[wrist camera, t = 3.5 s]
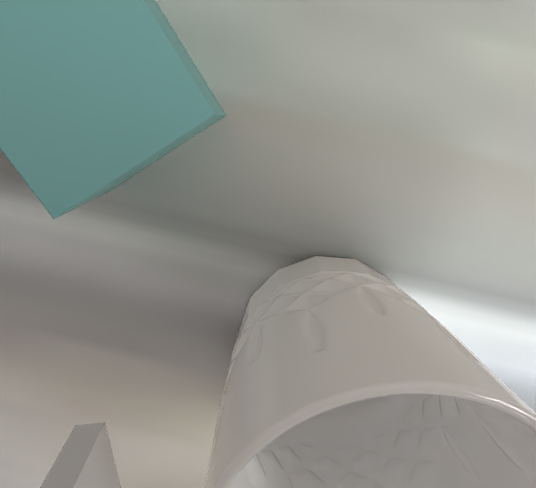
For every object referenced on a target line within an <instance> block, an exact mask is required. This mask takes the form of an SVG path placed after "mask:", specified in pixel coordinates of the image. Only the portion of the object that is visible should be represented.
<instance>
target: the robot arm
mask: <svg viewBox="0 0 536 488" xmlns="http://www.w3.org/2000/svg"><path fill="white" fill-rule="evenodd" d="M40 488H121V486H120V482H119V478H118V473H117V469H116V465H115V461H114V457H113V453H112V449H111V445H110V441H109V437H108V433H107V429H106V425H105V422H102V423H94V424H85V425H77V426H75V427H74V429H73V431H72V432H71V434H70V436H69V438H68V439H67V441H66V443H65V445H64V447H63V448H62V450H61V452H60V454H59V455H58V457H57V459H56V461H55V462H54V464H53V466H52V468H51V469H50V471H49V473H48V475H47V476H46V478H45V480H44V482H43V483H42V485H41V487H40Z"/></svg>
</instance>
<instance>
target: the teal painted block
mask: <svg viewBox="0 0 536 488" xmlns="http://www.w3.org/2000/svg"><path fill="white" fill-rule="evenodd" d="M224 116H226V114H225V113H224V111H223V109H222V108H221V106H220V105H219V103H218V101H217V100H216V98H215V96H214V95H213V93H212V92H211V90H210V88H209V87H208V85H207V84H206V82H205V80H204V79H203V77H202V75H201V74H200V72H199V71H198V69H197V67H196V66H195V64H194V63H193V61H192V59H191V58H190V56H189V54H188V53H187V51H186V50H185V48H184V46H183V45H182V43H181V42H180V40H179V38H178V37H177V35H176V33H175V32H174V30H173V29H172V27H171V25H170V24H169V22H168V21H167V19H166V17H165V16H164V14H163V12H162V11H161V9H160V8H159V6H158V4H157V3H156V1H155V0H0V149H1V150H2V151H3V153H4V154H5V155H6V157H7V158H8V159H9V161H10V162H11V163H12V165H13V166H14V167H15V168H16V170H17V171H18V172H19V174H20V175H21V176H22V178H23V179H24V180H25V182H26V183H27V184H28V186H29V187H30V188H31V190H32V191H33V192H34V194H35V195H36V196H37V197H38V199H39V200H40V201H41V203H42V204H43V205H44V207H45V208H46V209H47V211H48V212H49V213H50V215H51V216H52V217H53V219H55V218H57V217H59V216H61V215H63V214H65V213H67V212H69V211H71V210H73V209H75V208H77V207H79V206H81V205H82V204H84V203H86V202H88V201H90V200H92V199H94V198H96V197H98V196H100V195H102V194H104V193H106V192H108V191H110V190H112V189H113V188H115V187H116V186H118V185H119V184H121V183H122V182H124V181H125V180H127V179H129V178H130V177H132V176H133V175H135V174H136V173H138V172H139V171H141V170H142V169H144V168H146V167H147V166H149V165H150V164H152V163H153V162H155V161H156V160H158V159H159V158H161V157H163V156H164V155H166V154H167V153H169V152H170V151H172V150H173V149H175V148H176V147H178V146H180V145H181V144H183V143H184V142H186V141H187V140H189V139H190V138H192V137H193V136H195V135H197V134H198V133H200V132H201V131H203V130H204V129H206V128H207V127H209V126H210V125H212V124H214V123H215V122H217V121H218V120H220V119H221V118H223V117H224Z"/></svg>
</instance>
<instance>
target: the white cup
mask: <svg viewBox="0 0 536 488" xmlns="http://www.w3.org/2000/svg"><path fill="white" fill-rule="evenodd" d="M204 488H536V412H535V411H534V410H533V409H532V408H530V407H529V406H528V405H527V404H526V403H525V402H524V401H523V400H522V399H521V398H520V397H519V396H518V395H517V394H515V393H514V392H513V391H512V390H511V389H510V388H509V387H508V386H507V385H506V384H505V383H504V382H503V381H502V380H500V379H499V378H498V377H497V376H496V375H495V374H494V373H493V372H492V371H491V370H490V369H489V368H488V367H487V366H486V365H485V364H484V363H483V362H482V361H480V360H479V359H478V358H477V357H476V356H475V355H474V354H473V353H472V352H471V351H470V350H469V349H468V348H467V347H466V346H465V345H464V344H463V343H462V342H461V341H459V340H458V339H457V338H456V337H455V336H454V335H453V334H452V333H451V332H450V331H449V330H448V329H447V328H446V327H445V326H443V325H442V324H441V323H440V322H439V321H437V320H436V319H435V318H434V317H433V316H431V315H430V314H429V313H428V312H427V311H426V310H425V309H424V308H423V307H422V306H421V305H420V304H418V303H417V302H416V301H415V300H414V299H412V298H411V297H410V296H409V295H407V294H406V293H405V292H403V291H402V290H400V289H399V288H398V287H397V286H396V285H395V284H394V283H393V282H392V281H391V280H390V279H389V278H387V277H385V276H384V275H382V274H380V273H379V272H377V271H375V270H373V269H372V268H370V267H368V266H367V265H365V264H363V263H361V262H360V261H358V260H356V259H349V258H336V257H324V256H314V257H311V258H308V259H306V260H303V261H300V262H297V263H295V264H292V265H289V266H287V267H284V268H281V269H278V270H277V271H276V272H275V273H274V274H273V275H272V276H271V277H270V278H269V279H268V280H267V281H266V282H265V283H264V284H263V285H262V286H261V287H260V288H259V289H258V290H257V291H256V292H255V293H254V294H253V295H252V296H251V297H250V299H249V302H248V305H247V308H246V311H245V314H244V317H243V320H242V323H241V326H240V329H239V332H238V338H237V341H236V343H235V345H234V349H233V352H232V357H231V361H230V366H229V370H228V374H227V379H226V383H225V388H224V392H223V395H222V399H221V403H220V408H219V413H218V418H217V424H216V429H215V434H214V439H213V445H212V450H211V456H210V461H209V466H208V472H207V477H206V482H205V487H204Z"/></svg>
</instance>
